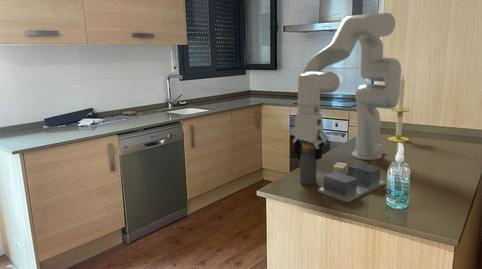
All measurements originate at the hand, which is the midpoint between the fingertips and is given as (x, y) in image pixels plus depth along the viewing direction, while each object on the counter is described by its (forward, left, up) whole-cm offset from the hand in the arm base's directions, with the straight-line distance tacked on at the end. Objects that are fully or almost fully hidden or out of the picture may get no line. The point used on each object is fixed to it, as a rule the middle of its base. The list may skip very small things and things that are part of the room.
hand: (307, 156), depth 134 cm
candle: (-77, -7, -11) cm, 78 cm away
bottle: (-1, 0, -11) cm, 11 cm away
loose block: (-16, +3, -10) cm, 19 cm away
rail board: (-8, +14, -10) cm, 19 cm away
